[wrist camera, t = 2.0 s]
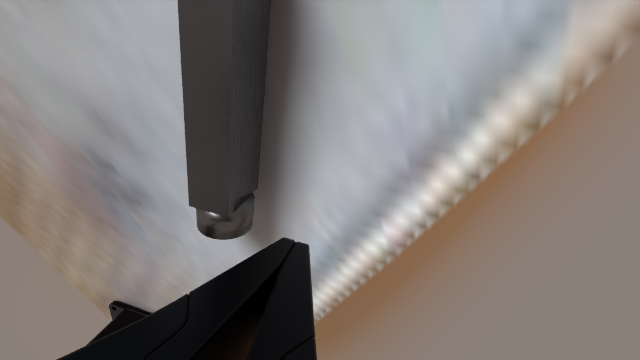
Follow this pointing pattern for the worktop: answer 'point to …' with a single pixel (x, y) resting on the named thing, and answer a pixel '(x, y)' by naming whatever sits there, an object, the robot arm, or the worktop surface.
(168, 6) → the worktop surface
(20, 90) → the worktop surface
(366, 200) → the worktop surface
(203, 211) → the folding leg
